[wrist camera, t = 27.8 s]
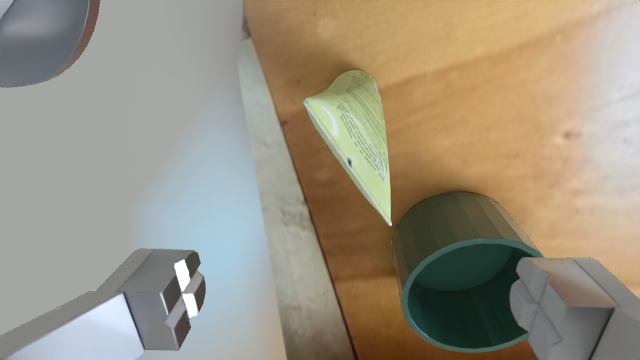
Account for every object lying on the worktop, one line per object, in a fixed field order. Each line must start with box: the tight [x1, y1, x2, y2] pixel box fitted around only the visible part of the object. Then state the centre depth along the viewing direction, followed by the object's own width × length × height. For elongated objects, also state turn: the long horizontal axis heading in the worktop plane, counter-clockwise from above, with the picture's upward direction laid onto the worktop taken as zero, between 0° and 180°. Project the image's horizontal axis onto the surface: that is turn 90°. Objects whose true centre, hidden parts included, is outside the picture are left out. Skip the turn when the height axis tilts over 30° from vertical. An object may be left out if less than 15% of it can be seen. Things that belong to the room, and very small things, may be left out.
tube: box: [302, 70, 392, 226], centre depth 24 cm, size 6×5×20 cm
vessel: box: [392, 192, 547, 353], centre depth 35 cm, size 14×14×9 cm
